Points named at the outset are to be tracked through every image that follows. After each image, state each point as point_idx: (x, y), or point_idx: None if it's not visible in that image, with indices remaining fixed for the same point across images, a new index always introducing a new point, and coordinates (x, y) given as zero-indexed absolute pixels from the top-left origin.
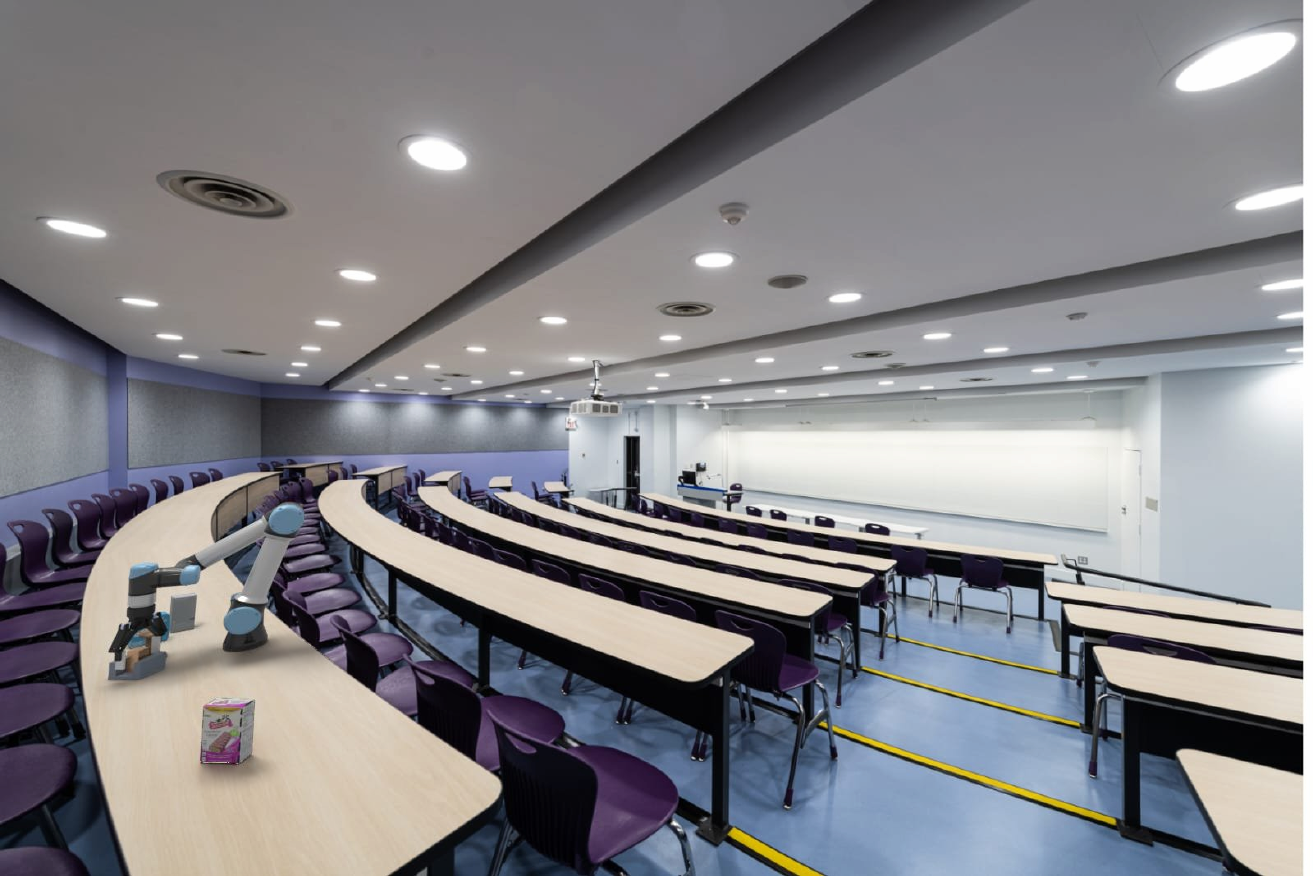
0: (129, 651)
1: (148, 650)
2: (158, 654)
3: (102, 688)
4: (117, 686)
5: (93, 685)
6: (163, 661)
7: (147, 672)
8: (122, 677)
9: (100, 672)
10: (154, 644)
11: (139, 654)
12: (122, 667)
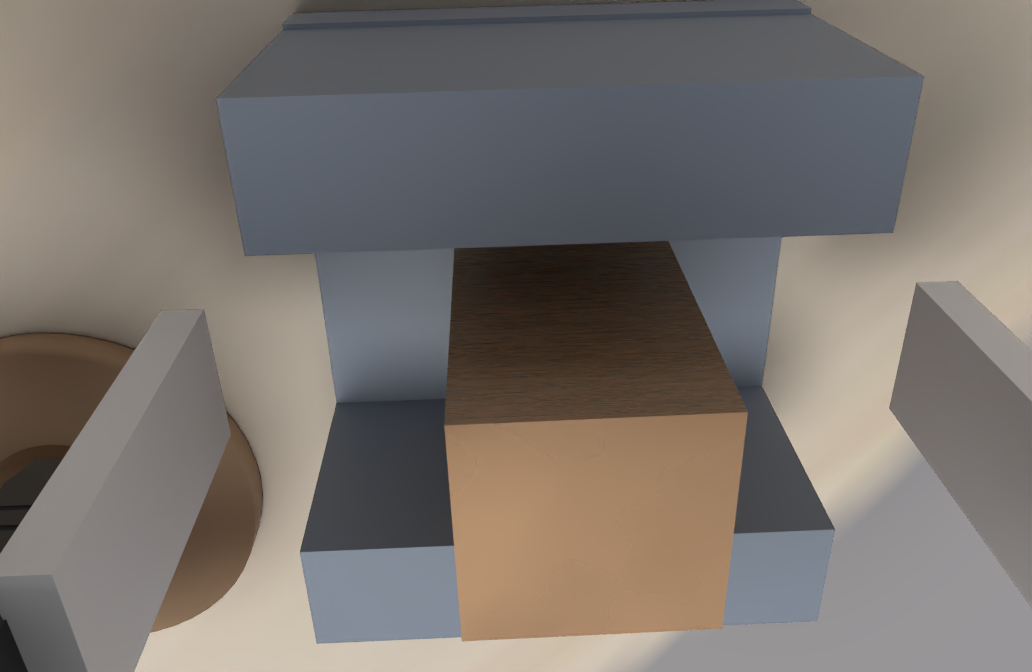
0: (724, 589)
1: (453, 375)
2: (416, 114)
3: (1015, 282)
4: (989, 139)
5: (892, 456)
6: (315, 45)
7: (662, 19)
8: (769, 286)
9: (532, 665)
10: (156, 513)
11: (697, 363)
12: (979, 310)
